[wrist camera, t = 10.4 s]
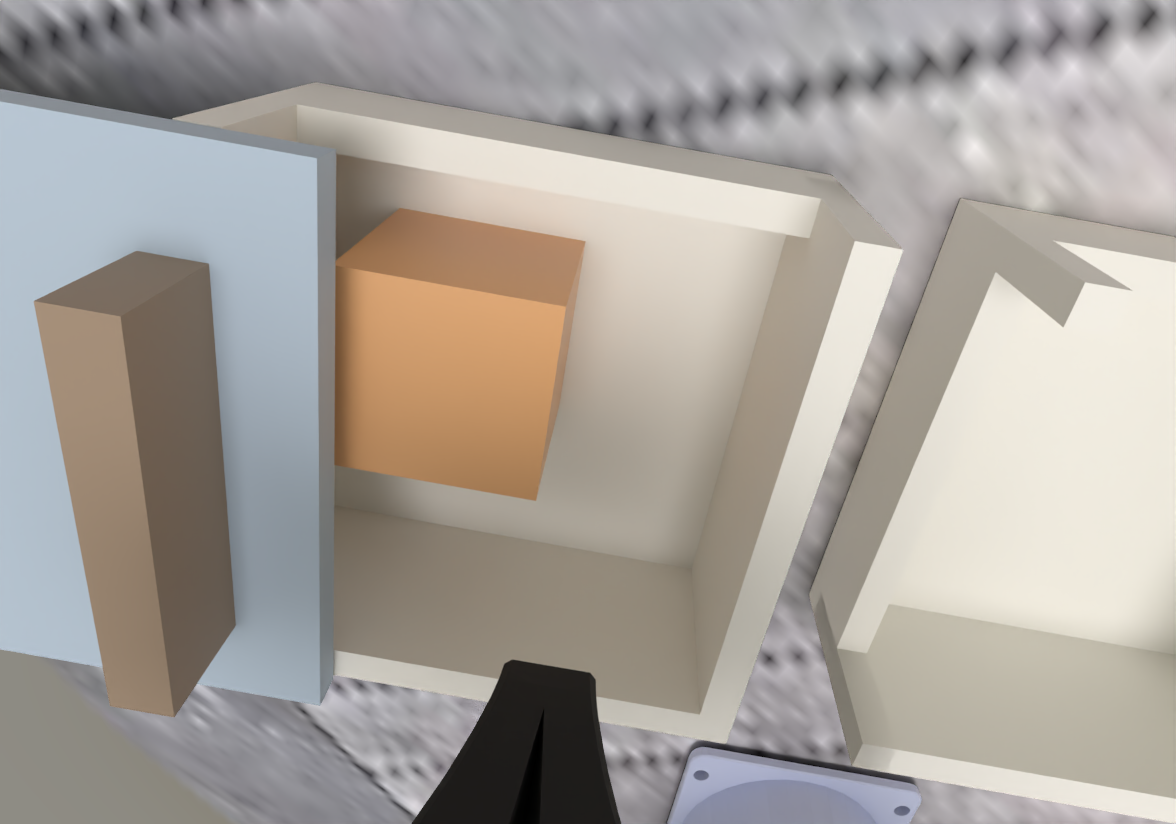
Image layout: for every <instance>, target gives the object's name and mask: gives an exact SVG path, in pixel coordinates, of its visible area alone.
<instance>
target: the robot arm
mask: <svg viewBox="0 0 1176 824" xmlns="http://www.w3.org/2000/svg"><path fill="white" fill-rule="evenodd" d="M921 801H922V798H921V795H920V792H919V789H918V787H916V786H915V785H914V784H911V783H907V782H901V781H895V780H890V779H884V778H878V777H873V776H867V775H861V774H856V773H850V772H845V771H839V770H833V769H828V768H822V767H816V766H811V765H805V764H799V763H794V762H788V761H782V760H777V759H771V758H765V757H760V756H754V755H748V754H743V753H737V752H731V751H726V750H720V749H714V748H709V747H700V748H696V749H695V750H693V751H692V752H691V753H690V755H689V758H688V761H687V764H686V767H685V770H684V773H683V776H682V779H681V782H680V785H679V788H678V791H677V794H676V797H675V801H674V804H673V807H672V810H671V813H670V816H669V819H668V822H667V824H909V823H910V821H911V820H912V818H913V816H914V814H915V813H916V811H917V809H918V807H919V806H920V804H921ZM412 824H621V822H620V818H619V814H618V811H617V806H616V802H615V798H614V794H613V790H612V786H611V782H610V778H609V774H608V769H607V764H606V760H605V755H604V749H603V743H602V738H601V732H600V725H599V718H598V710H597V699H596V679H595V678H594V677H593V675H592V674H591V673H590V672H584V671H578V670H572V669H566V668H560V667H554V666H548V665H542V664H536V663H530V662H525V661H519V660H513V659H512V660H510V661H508V662H506V663H504V666H503V669H502V671H501V674H500V677H499V679H498V682H497V684H496V686H495V689H494V691H493V693H492V695H491V697H490V699H489V701H488V703H487V705H486V707H485V709H484V711H483V713H482V715H481V716H480V718H479V720H478V722H477V724H476V726H475V727H474V729H473V731H472V733H471V734H470V736H469V738H468V739H467V741H466V743H465V744H464V746H463V747H462V749H461V751H460V752H459V754H458V756H457V757H456V759H455V760H454V762H453V764H452V765H451V767H450V769H449V770H448V772H447V773H446V775H445V776H444V778H443V779H442V781H441V782H440V784H439V785H438V787H437V788H436V790H435V791H434V792H433V794H432V795H431V797H430V798H429V800H428V801H427V802H426V804H425V805H424V807H423V808H422V810H421V811H420V812H419V814H418V815H417V817H416V818H415V819H414V821H413V822H412Z"/></svg>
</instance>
